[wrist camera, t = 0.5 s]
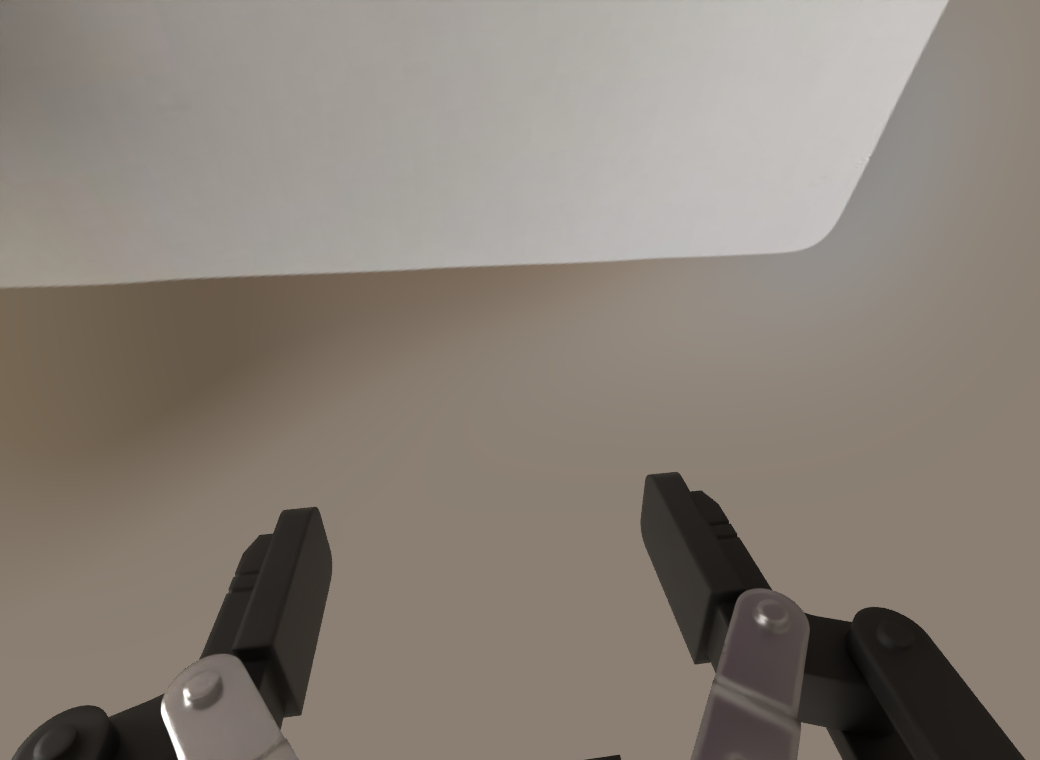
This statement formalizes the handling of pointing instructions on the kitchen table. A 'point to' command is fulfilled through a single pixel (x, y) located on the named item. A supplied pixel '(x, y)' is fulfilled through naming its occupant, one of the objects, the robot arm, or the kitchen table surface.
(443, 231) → the kitchen table surface
